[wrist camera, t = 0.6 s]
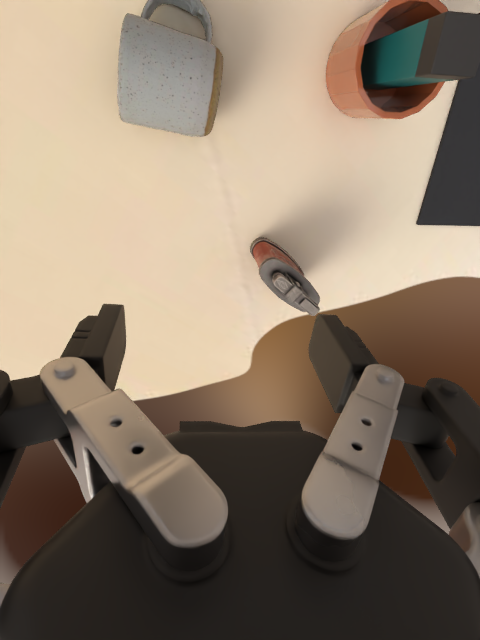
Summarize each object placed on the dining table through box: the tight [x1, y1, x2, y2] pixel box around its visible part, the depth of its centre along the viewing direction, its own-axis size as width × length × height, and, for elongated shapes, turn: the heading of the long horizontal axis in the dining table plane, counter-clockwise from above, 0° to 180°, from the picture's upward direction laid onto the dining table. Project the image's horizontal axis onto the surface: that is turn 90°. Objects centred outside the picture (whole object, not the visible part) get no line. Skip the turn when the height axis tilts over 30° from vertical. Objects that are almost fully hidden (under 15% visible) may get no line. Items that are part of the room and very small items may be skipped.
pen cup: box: [326, 0, 448, 119], centre depth 32 cm, size 8×8×8 cm
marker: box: [361, 11, 480, 90], centre depth 28 cm, size 3×3×14 cm
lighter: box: [250, 237, 320, 316], centre depth 40 cm, size 8×3×10 cm, turn 48°
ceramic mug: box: [118, 0, 223, 137], centre depth 30 cm, size 11×8×8 cm
